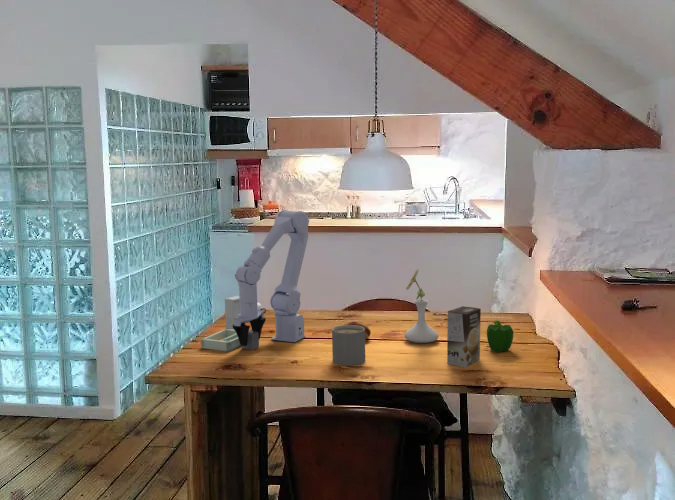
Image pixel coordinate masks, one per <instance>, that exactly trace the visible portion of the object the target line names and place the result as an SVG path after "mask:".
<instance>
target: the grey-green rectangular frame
mask: <svg viewBox="0 0 675 500" xmlns="http://www.w3.org/2000/svg"><path fill="white" fill-rule="evenodd" d="M200 344H201V347H200V348H201V349H205V350H214V351H221V352H228V353H229V352H231V351H233V350H236V349H237V348H240V347H242V346H241V345H240V342H239V339H238V336H237V333H236V332H235V330H232V329H226V328H224V329H222V330H220V331H218V332H215V333H213V334H211V335H210V334H209V335H208V336H206V337H202V338H200Z"/></svg>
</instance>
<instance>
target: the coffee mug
mask: <svg viewBox="0 0 675 500" xmlns="http://www.w3.org/2000/svg"><path fill="white" fill-rule="evenodd" d="M331 343H332V350H331V351H332V363H333V364H334V365H337V366H343V367H345V366H346V367H353V366H360V365H362V364H364V363H365V362H366V340H365V328H364V327H362V326H358V325H344V324H343V325H342V324H341V325H337V326H334V327H332V328H331Z"/></svg>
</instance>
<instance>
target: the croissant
mask: <svg viewBox="0 0 675 500" xmlns="http://www.w3.org/2000/svg"><path fill="white" fill-rule="evenodd" d="M343 325H358V326H362V327H364V328H365V341H366V340H367V339H368V338H369V337H370V336H371V333H372V332H371V329H370V328H369V326H368V325H366V324H365V323H363V322H360V321H357V320H354V321H348V322H346V323H344V324H343Z"/></svg>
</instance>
